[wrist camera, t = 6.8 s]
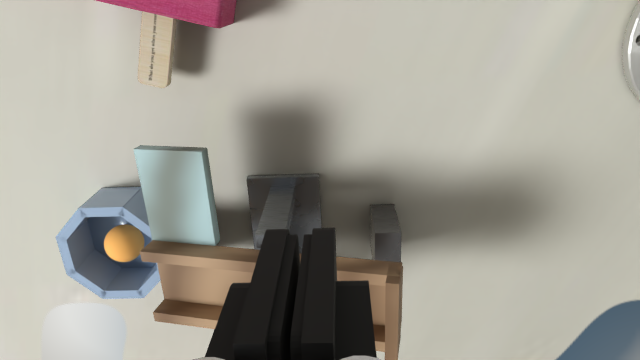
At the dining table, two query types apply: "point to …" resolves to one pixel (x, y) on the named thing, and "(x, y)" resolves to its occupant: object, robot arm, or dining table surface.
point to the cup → (88, 245)
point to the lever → (227, 249)
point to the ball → (124, 243)
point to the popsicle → (170, 30)
